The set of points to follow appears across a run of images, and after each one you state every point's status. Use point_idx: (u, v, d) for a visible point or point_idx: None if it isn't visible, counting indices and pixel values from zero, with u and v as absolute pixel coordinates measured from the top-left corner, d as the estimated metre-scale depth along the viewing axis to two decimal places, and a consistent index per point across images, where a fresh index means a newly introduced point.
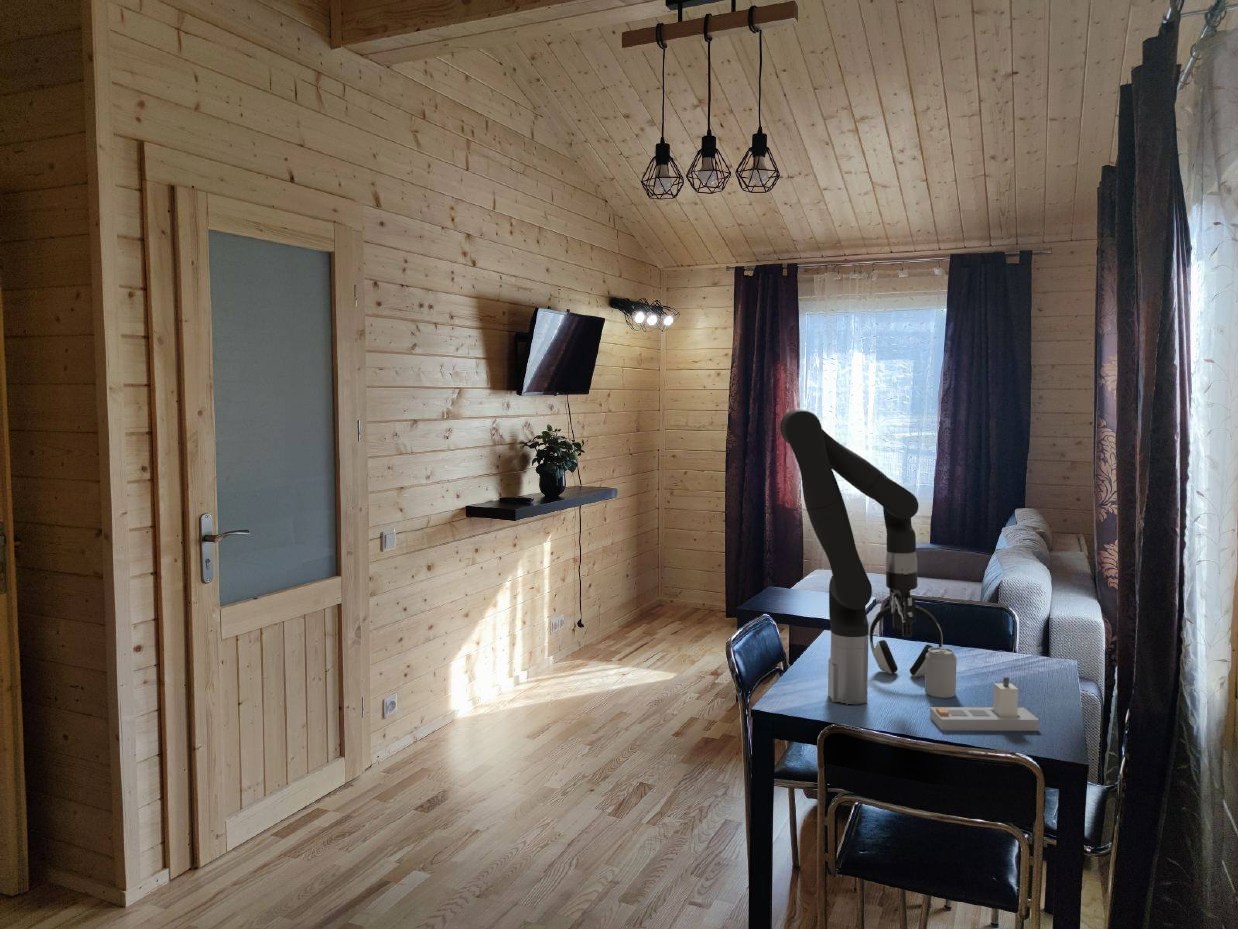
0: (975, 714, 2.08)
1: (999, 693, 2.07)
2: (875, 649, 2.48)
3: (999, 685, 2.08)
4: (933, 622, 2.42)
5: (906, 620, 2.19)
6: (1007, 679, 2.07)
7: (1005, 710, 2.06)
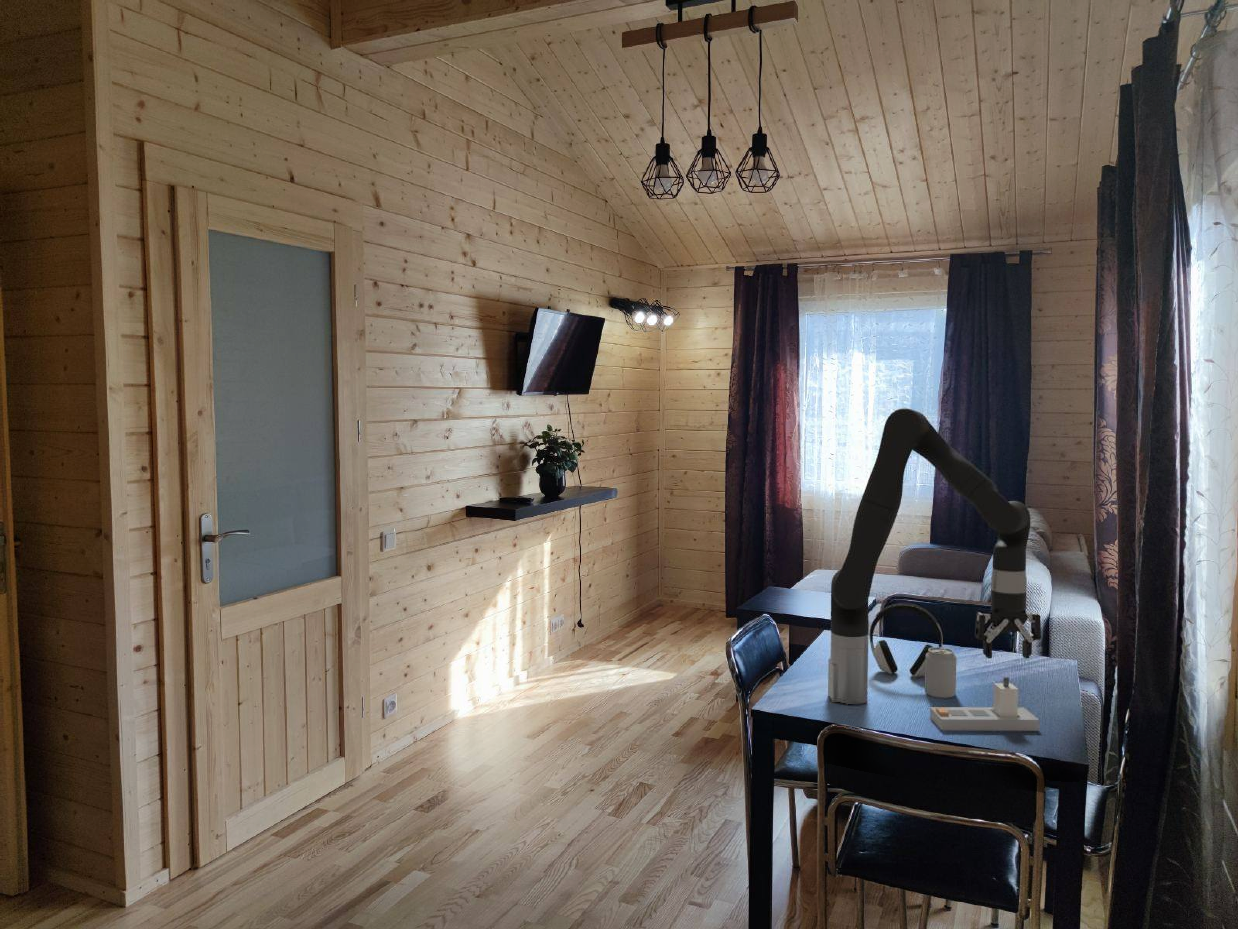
0: (975, 714, 2.08)
1: (999, 693, 2.07)
2: (875, 649, 2.48)
3: (999, 685, 2.08)
4: (933, 622, 2.42)
5: None
6: (1007, 679, 2.07)
7: (1005, 710, 2.06)
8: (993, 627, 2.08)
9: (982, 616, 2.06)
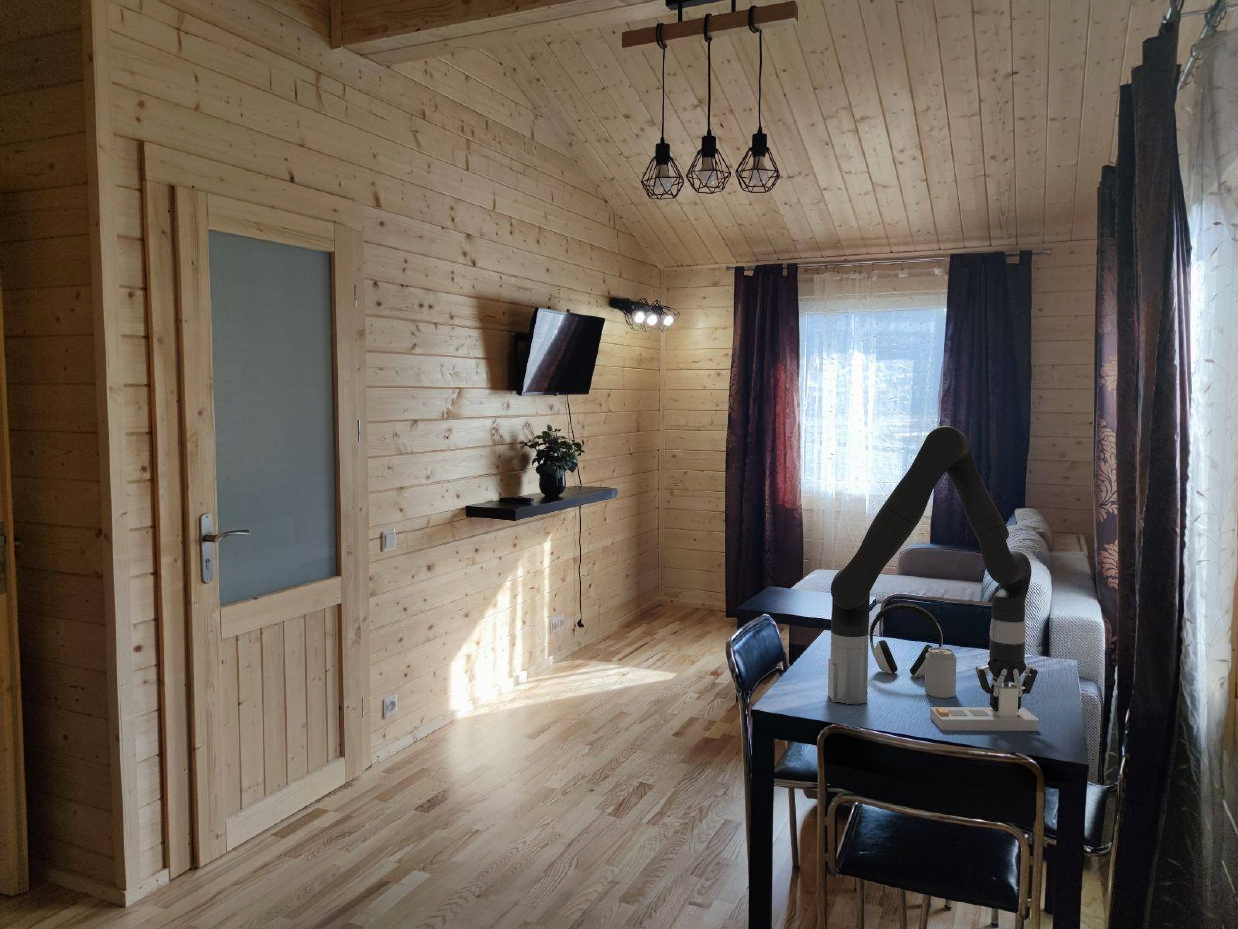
0: (975, 714, 2.08)
1: (999, 693, 2.07)
2: (875, 649, 2.48)
3: None
4: (933, 622, 2.42)
5: None
6: None
7: (1005, 710, 2.06)
8: (996, 678, 2.09)
9: (981, 671, 2.07)
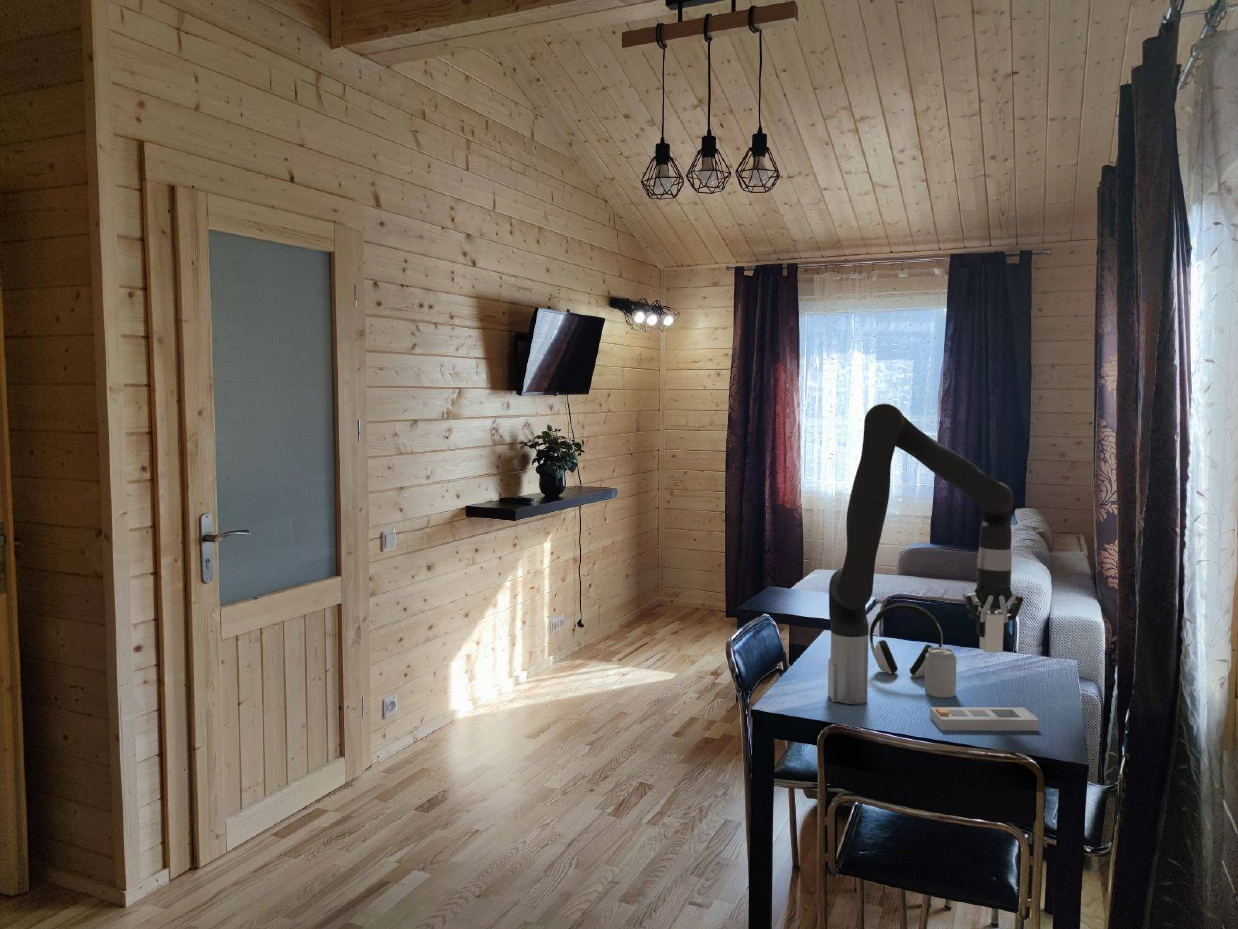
0: (975, 714, 2.08)
1: (985, 619, 2.14)
2: (875, 649, 2.48)
3: None
4: (933, 622, 2.42)
5: None
6: None
7: (991, 635, 2.14)
8: None
9: (968, 597, 2.14)
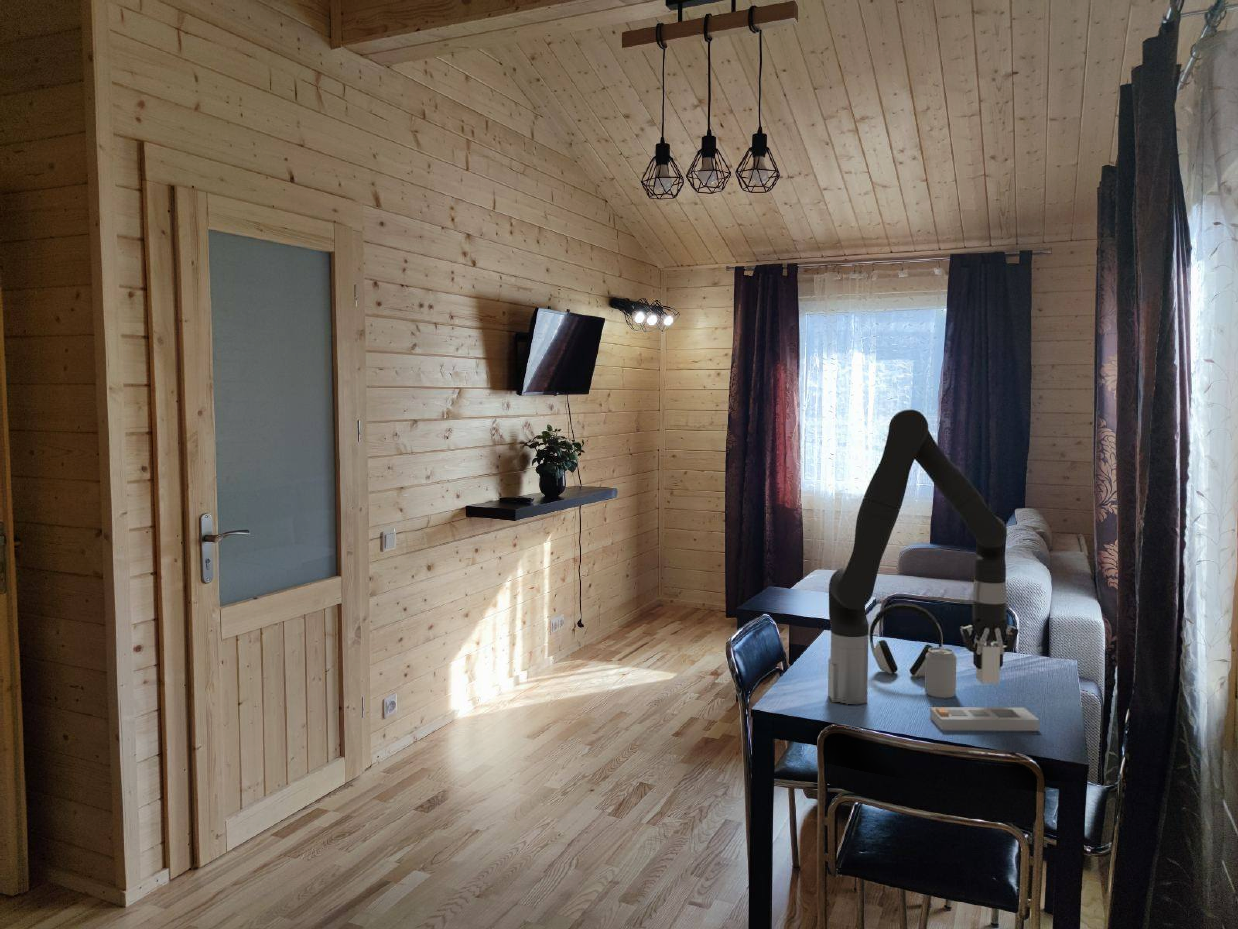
0: (975, 714, 2.08)
1: (982, 651, 2.17)
2: (875, 649, 2.48)
3: None
4: (933, 622, 2.42)
5: None
6: None
7: (988, 667, 2.17)
8: (979, 637, 2.20)
9: (964, 630, 2.17)
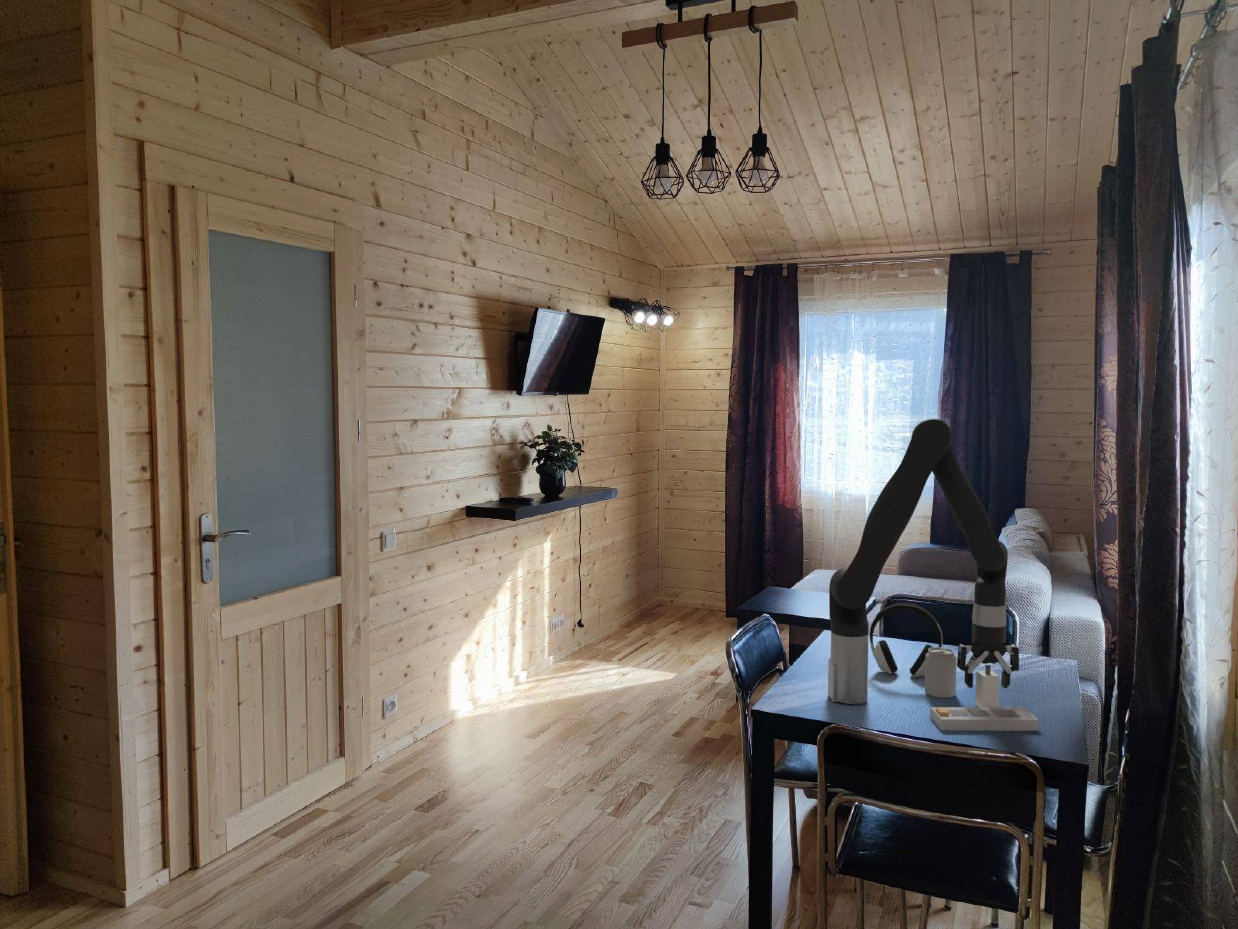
0: (975, 714, 2.08)
1: (981, 680, 2.18)
2: (875, 649, 2.48)
3: (981, 673, 2.19)
4: (933, 622, 2.42)
5: None
6: (989, 667, 2.18)
7: (987, 696, 2.17)
8: (974, 658, 2.20)
9: (963, 648, 2.17)
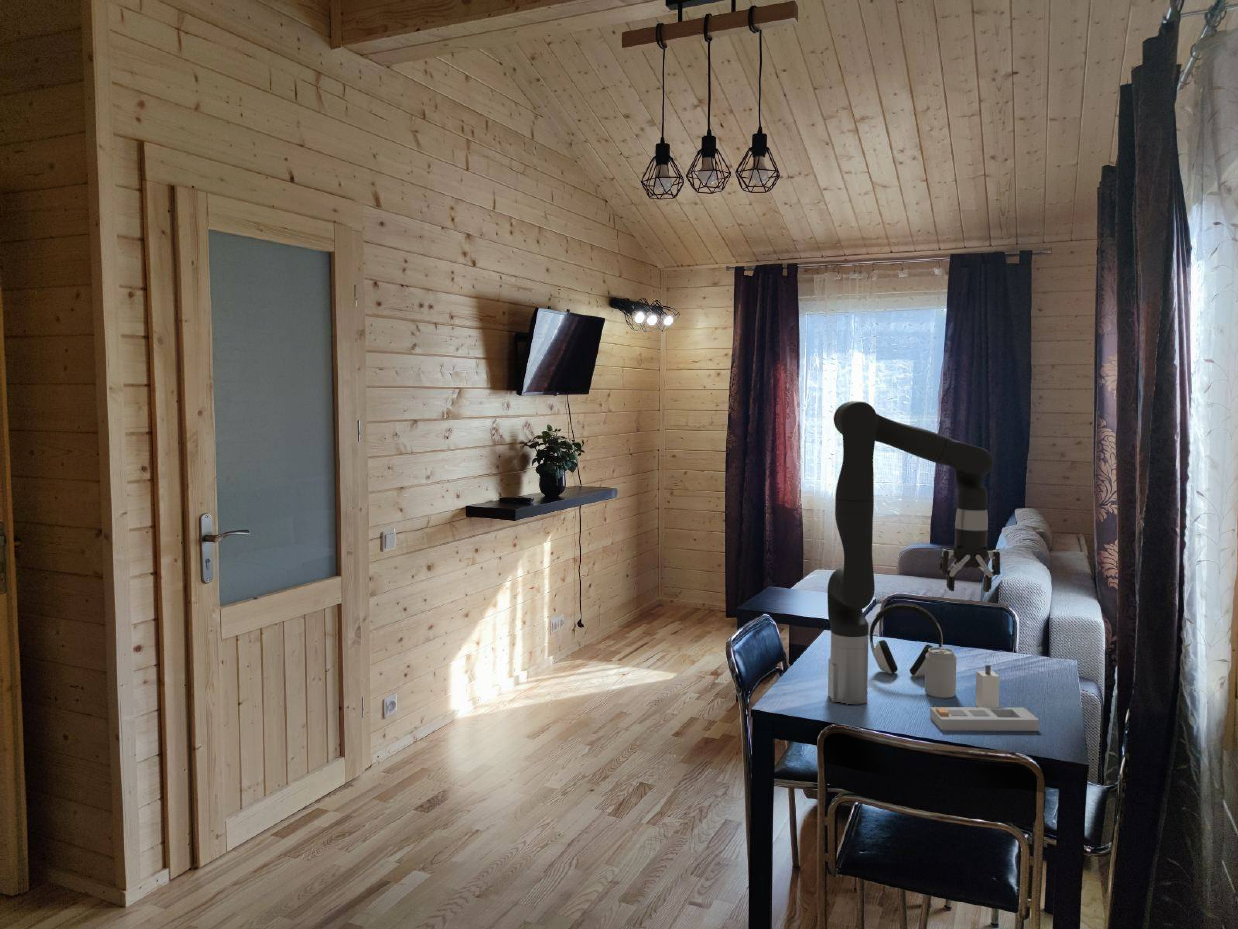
0: (975, 714, 2.08)
1: (981, 680, 2.18)
2: (875, 649, 2.48)
3: (981, 673, 2.19)
4: (933, 622, 2.42)
5: (999, 572, 2.23)
6: (989, 667, 2.18)
7: (987, 696, 2.17)
8: (956, 563, 2.26)
9: (946, 551, 2.23)
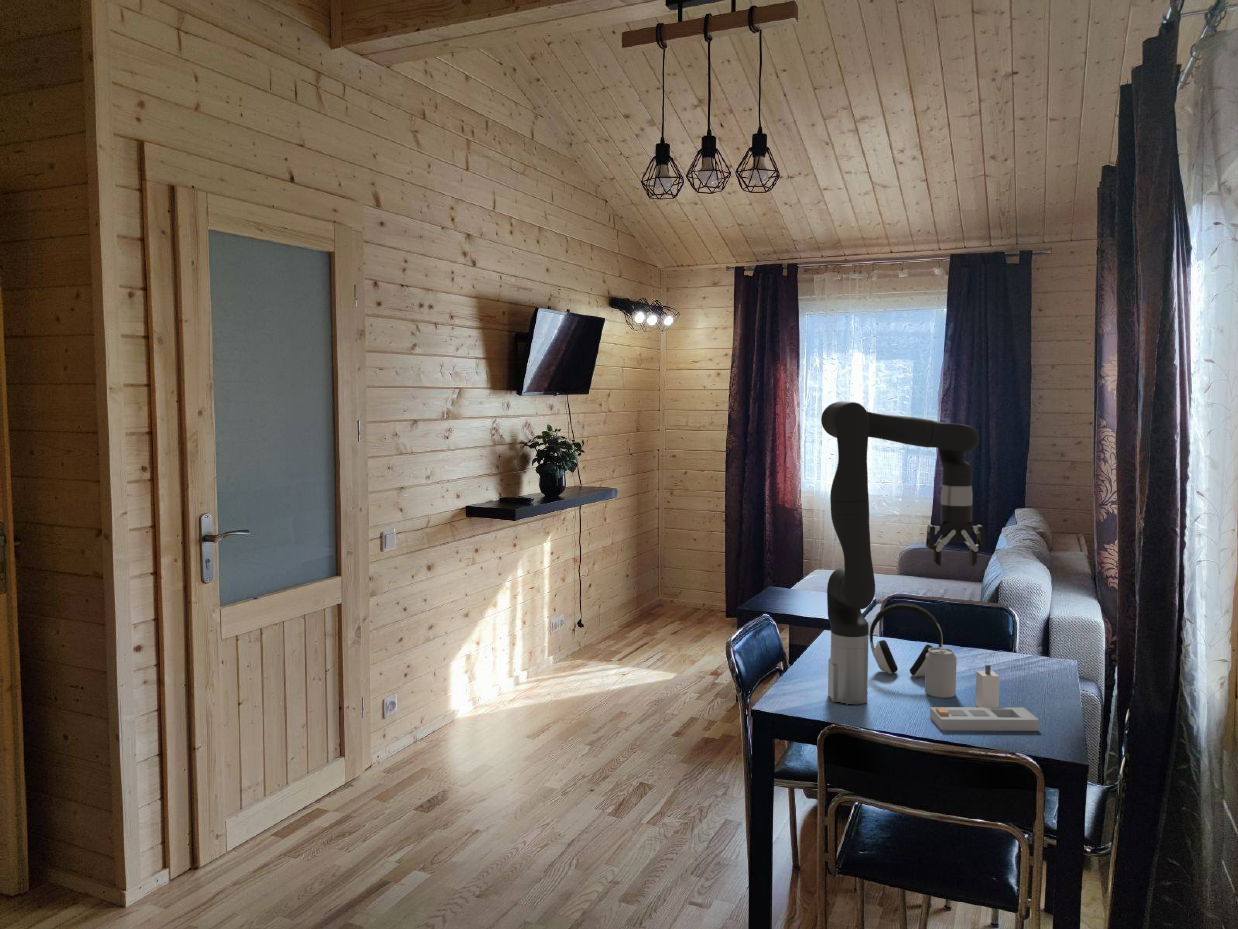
0: (975, 714, 2.08)
1: (981, 680, 2.18)
2: (875, 649, 2.48)
3: (981, 673, 2.19)
4: (933, 622, 2.42)
5: (984, 547, 2.29)
6: (989, 667, 2.18)
7: (987, 696, 2.17)
8: (942, 538, 2.31)
9: (932, 527, 2.28)
